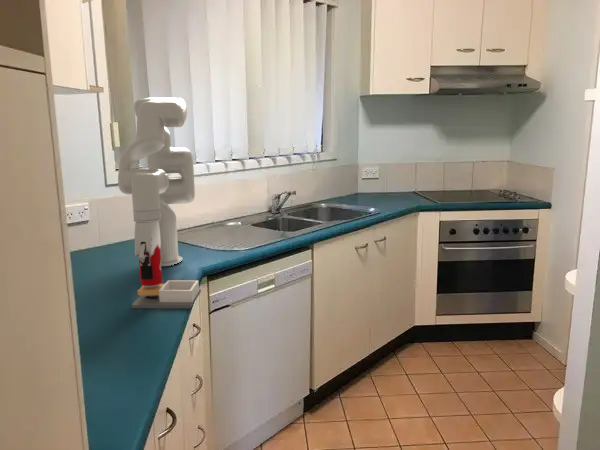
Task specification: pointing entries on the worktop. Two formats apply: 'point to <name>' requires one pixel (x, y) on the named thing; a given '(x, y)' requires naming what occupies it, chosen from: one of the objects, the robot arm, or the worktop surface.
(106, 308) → the worktop surface
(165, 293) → the grey tray with holder
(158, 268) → the beverage can
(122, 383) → the worktop surface
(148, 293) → the tan flat square block
